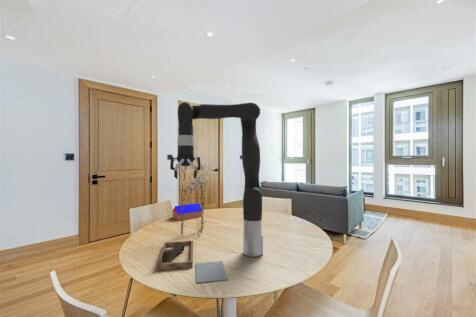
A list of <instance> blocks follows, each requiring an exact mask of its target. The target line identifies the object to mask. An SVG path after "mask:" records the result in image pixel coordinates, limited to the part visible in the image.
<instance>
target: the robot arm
mask: <svg viewBox="0 0 476 317" xmlns="http://www.w3.org/2000/svg"><path fill="white" fill-rule="evenodd" d="M260 114H261V108H260V106H259V105H258V104H257V103H256V102H245V103H238V104H236V103H235V104H213V103H212V104H211V103H207V104H206V103H204V104H203V103H201V104H199V105H192V104H191V103H190V102H187V101H184V102H183V101H182V102H181V103H180V104H179V105H178V107H177V121H178V128H177V129H178V130H177V132H178V133H177V134H178V135H177V156H176V157H175V156H171V157H170V166H169V169H170V170H171V171H174V172H173V176H174V179H176V180H178V170H179V168H180V165H181V167H182V166H188V167H190V166H191V168H192V169H193V174H194V175H193V179H194V180H196V178H195V177H197V176H198V172H197V170H198V171H199V169H200V170H202V166H201V165H202V164H201V157H200V156H198V157H197V156H196V157H195V155H194V154H195V153H194V152H195V151H194V150H195V149H194V147H195V145H194V144H195V143H194V142H195V139H194V125H193V120H198V119H200V120H201V119H206V120H216V119H227V118H238V119H240V125H241V126H240V127H241V161H242V168H243V173H244V189H243V190H244V191H243V197H242V200H243V201H242V204H243V207H242V208H243V210H242V214H243V217H242V218H243V225H242V226H243V231H242V232H243V233H242V234H243V235H242V236H243V240H242V241H243V245H242V247H243V248H242V250H243V252H242V253H243V254H244V255H245V256H247V257H251V258H253V257H254V258H255V257H260V256H263V255H264V235H263V233H262V230H263V228H262V226H263V224H262V223H263V222H262V221H263V220H262V219H263V218H262V217H263V195H262V191H261V187H260V169H261V167H260V166H261V149H260V148H261V147H260V143H259V139H258V135H257V119H258V118H259V117H260ZM176 161H177V162H178V163H177V164H178V165H177V166H176V167H175V166H174V162H176ZM195 161H196V162H197V166H196V165H195V164H194V163H193V162H195ZM195 166H196V167H195ZM177 169H178V170H177Z"/></svg>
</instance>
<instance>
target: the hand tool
mask: <svg viewBox="0 0 476 317" xmlns="http://www.w3.org/2000/svg"><path fill="white" fill-rule="evenodd" d="M184 251H185V246H184V244H181V243H179V244H177V246H173V247H171V249H166V250H165V251H164V252H163V256H162V263H168V262H169V261H171V259H172V258H173V257H174V256H176V255H178V254H179V253H181V252H184Z"/></svg>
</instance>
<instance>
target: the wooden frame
mask: <svg viewBox="0 0 476 317" xmlns="http://www.w3.org/2000/svg"><path fill="white" fill-rule="evenodd" d="M179 243H181V244H184V247H186V246H190V260H187V261H175V262H165V263H162V256H163V252H164V251H166V250H167V248H173V247H175V246H177V244H179ZM193 251H194V240H184V241H183V240H179V241H166V242H164V243H163V246H162V249H161V252H160V254H159V258H158V261H157V263H156V271H158V272H159V271H169V270H170V271H171V270H179V269H180V270H181V269H190V268H193V267H194V266H193V261H194V252H193Z"/></svg>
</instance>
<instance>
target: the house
mask: <svg viewBox="0 0 476 317" xmlns="http://www.w3.org/2000/svg"><path fill="white" fill-rule="evenodd" d="M181 206H182V205H181V204H180V205H174V208H173V210H172V218H173V219H175V220H176V221H177V222H179V221H181V220H182V219H181V209H182V214H183V220H184V221H186V220H190V219H195V218H196V219H197V218H200V217H201V218H202V216H201V215H202V212H201V210H202V207H201V203H200V202H198V206H197V203H190V204H187V205H186V204H184V205H183V206H184V207H183V206H182V208H181ZM185 206H186V207H185ZM183 209H184V210H183ZM200 209H201V210H200ZM198 210H200V211H199V212H198Z"/></svg>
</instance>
